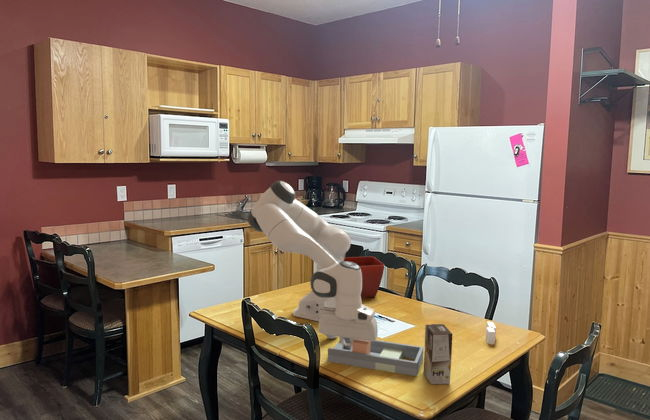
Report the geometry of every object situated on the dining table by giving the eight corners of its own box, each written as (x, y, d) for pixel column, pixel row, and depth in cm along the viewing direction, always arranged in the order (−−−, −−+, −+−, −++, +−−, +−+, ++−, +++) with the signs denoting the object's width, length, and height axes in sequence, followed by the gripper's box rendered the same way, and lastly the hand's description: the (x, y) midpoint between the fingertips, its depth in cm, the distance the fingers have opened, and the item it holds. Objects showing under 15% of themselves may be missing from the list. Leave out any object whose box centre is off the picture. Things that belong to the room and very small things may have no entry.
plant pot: (345, 300, 236) (346, 266, 234) (336, 289, 254) (337, 257, 252) (384, 299, 240) (385, 265, 238) (372, 288, 258) (373, 256, 256)
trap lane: (327, 361, 168) (327, 349, 167) (340, 346, 181) (340, 334, 181) (416, 376, 158) (417, 363, 158) (423, 359, 171) (423, 346, 171)
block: (351, 356, 166) (352, 342, 166) (356, 351, 171) (356, 337, 170) (366, 359, 165) (367, 344, 164) (370, 353, 169) (370, 339, 169)
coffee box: (451, 384, 153) (453, 334, 151) (430, 384, 153) (433, 334, 151) (441, 371, 162) (443, 323, 160) (422, 371, 162) (424, 323, 160)
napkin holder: (485, 331, 200) (486, 317, 200) (512, 339, 192) (513, 325, 191) (465, 340, 190) (465, 326, 190) (492, 349, 182) (493, 334, 181)
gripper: (316, 308, 168) (315, 347, 170) (374, 316, 161) (373, 357, 163) (322, 303, 174) (321, 341, 176) (379, 311, 167) (378, 350, 169)
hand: (347, 349), depth 169 cm, fingers closed
